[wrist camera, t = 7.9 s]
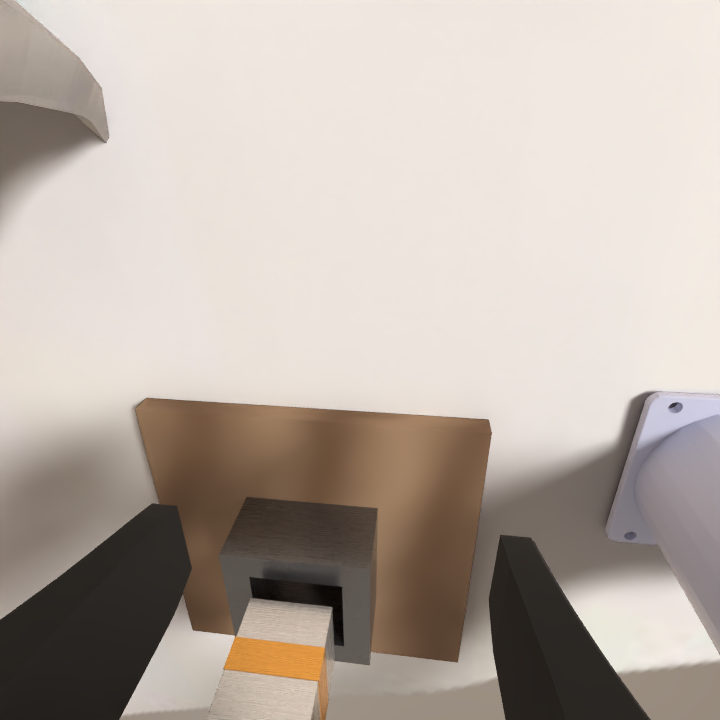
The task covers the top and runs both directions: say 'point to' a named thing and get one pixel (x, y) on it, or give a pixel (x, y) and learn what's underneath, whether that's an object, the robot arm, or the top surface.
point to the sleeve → (307, 565)
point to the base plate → (331, 500)
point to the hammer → (46, 70)
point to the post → (278, 664)
